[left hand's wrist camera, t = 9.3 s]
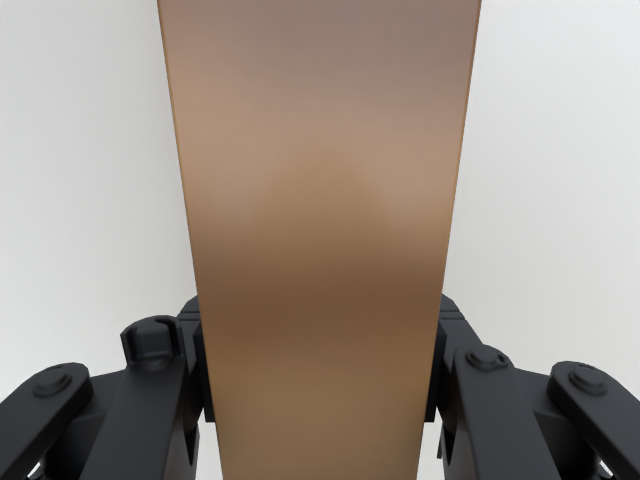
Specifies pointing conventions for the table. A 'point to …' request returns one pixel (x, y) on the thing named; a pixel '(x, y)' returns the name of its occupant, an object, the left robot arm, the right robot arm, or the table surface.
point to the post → (319, 219)
